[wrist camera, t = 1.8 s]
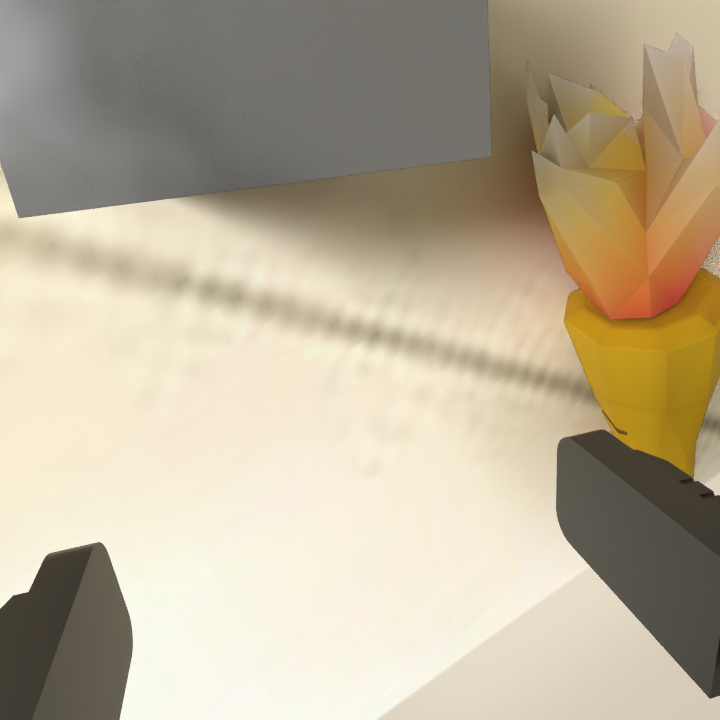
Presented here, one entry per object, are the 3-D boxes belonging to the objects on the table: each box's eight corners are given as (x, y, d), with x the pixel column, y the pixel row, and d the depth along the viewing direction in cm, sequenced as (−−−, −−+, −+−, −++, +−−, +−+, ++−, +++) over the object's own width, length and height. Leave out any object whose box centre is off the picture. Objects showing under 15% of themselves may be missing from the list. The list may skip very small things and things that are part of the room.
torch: (579, 443, 38) (514, 55, 26) (710, 430, 36) (708, -11, 23) (597, 543, 32) (521, 88, 19) (758, 536, 29) (793, 1, 16)
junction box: (59, -57, 20) (-172, -362, 8) (344, -71, 22) (479, -339, 10) (123, 192, 23) (19, 220, 12) (368, 161, 25) (491, 158, 13)
